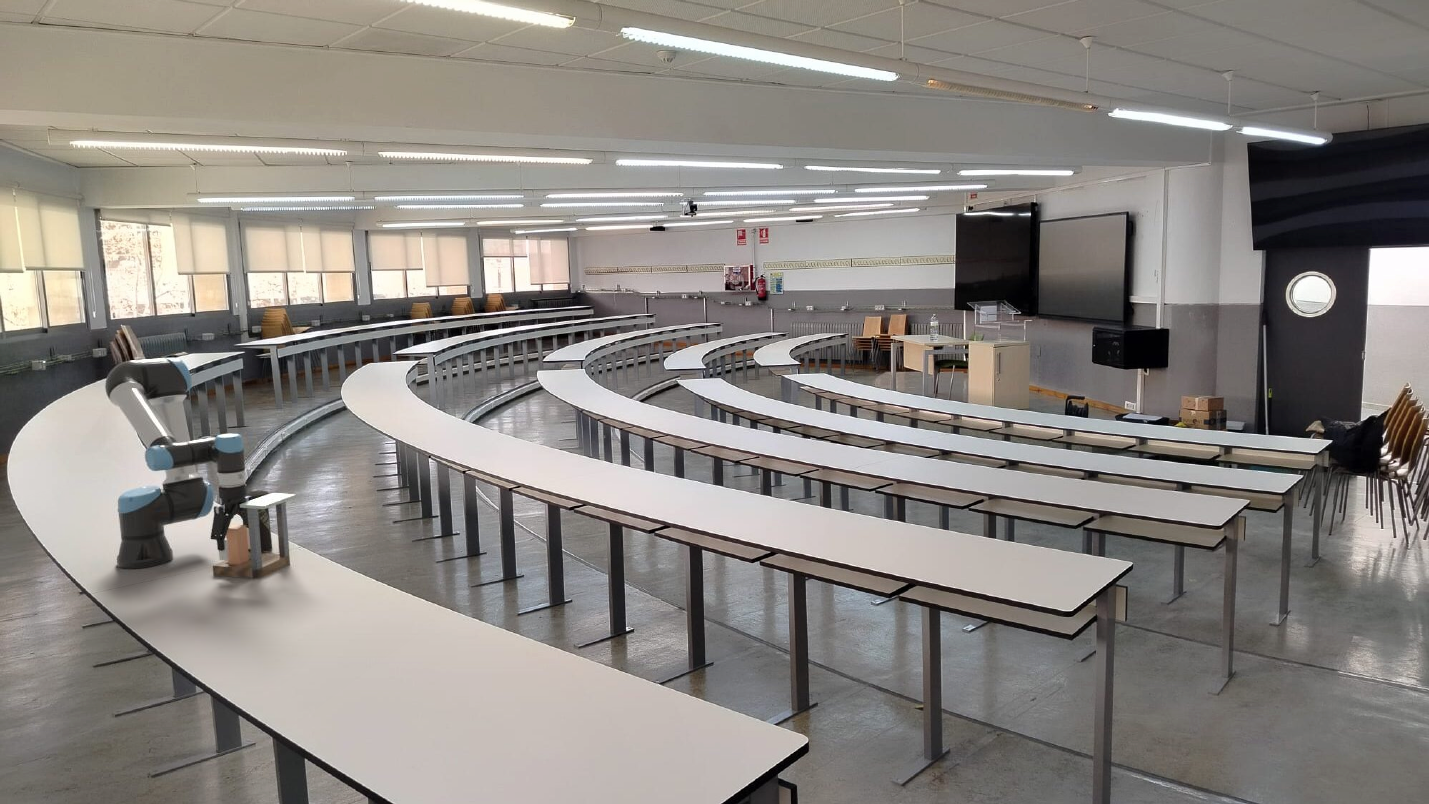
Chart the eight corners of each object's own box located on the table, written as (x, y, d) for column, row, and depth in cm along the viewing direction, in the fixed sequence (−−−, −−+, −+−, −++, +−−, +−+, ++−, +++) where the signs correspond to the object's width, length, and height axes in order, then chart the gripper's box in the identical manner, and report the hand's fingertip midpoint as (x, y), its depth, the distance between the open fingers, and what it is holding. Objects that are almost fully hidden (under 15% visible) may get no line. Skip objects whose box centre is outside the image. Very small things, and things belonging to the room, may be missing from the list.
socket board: (213, 575, 271) (212, 565, 271) (246, 560, 285) (246, 551, 284) (258, 579, 268) (257, 569, 267) (290, 564, 281) (289, 555, 281)
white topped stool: (245, 577, 269) (239, 504, 265) (277, 563, 282) (272, 492, 279) (269, 580, 267) (264, 506, 264) (301, 565, 280) (296, 494, 277)
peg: (229, 571, 274) (225, 528, 271) (238, 567, 277) (235, 524, 275) (240, 572, 273) (236, 528, 271) (249, 568, 276) (246, 525, 274)
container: (261, 555, 290) (256, 495, 287) (237, 553, 292) (232, 494, 289) (279, 547, 299) (274, 489, 296) (255, 545, 300) (251, 487, 297)
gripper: (213, 494, 259) (220, 567, 262) (269, 476, 281) (274, 543, 285) (192, 493, 261) (198, 565, 264) (249, 475, 283) (254, 542, 286)
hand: (238, 554), depth 274 cm, fingers open, 10 cm apart
